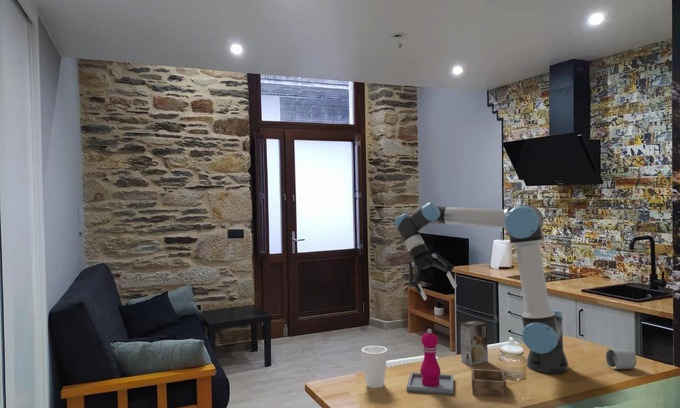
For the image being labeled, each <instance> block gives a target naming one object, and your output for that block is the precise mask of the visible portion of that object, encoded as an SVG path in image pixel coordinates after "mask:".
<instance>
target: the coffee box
mask: <svg viewBox="0 0 680 408" xmlns="http://www.w3.org/2000/svg"><path fill="white" fill-rule="evenodd" d="M459 326H460V327H459V328H460V354H461V356H460V357H461V358H460V359H461V362H462V363H464V364H467V365H469V366H471V367H472V366H475V365H479V364H484V363H488V362H489V356H488V355H489V353H488V350H489V349H488V331H487V330H488V329H487V326H488V325H487V323H486V322H482V321H480V320H471V321H466V322H461V323H459Z"/></svg>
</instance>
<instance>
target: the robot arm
mask: <svg viewBox="0 0 680 408" xmlns="http://www.w3.org/2000/svg"><path fill="white" fill-rule="evenodd" d="M394 224H395V227H396V231H398V233H399V235H400V238H401V239H402V241H403V244H404V245H405V247H406V249H407V251H408V252H409V254H410V256H411V259H412V260H413V261H408V263H407V268H408V286H409V287H413V288H414V289H415V290H416V292H417V294H420V296H421V297H422V299H423V301H426V300H427V299H428V297H427V295H426V293H425V291H424V290H423V287H422V285H421V284H420V282H419V278H420V275H421V272H422V271H421V270H425V269H427V268H429V267H435V268H437V269H438V270H441V271H443V272H445V273H446V276H447V278H448V280H449V282H450V284H451V285H452V287H453V289H456V288H457V287H458V285H457V282H456V281H455V275H454V273H453V270H454V269H455V265H453V264H452V263H450V261H449V260H447V259H445V258H444V257H443V256H441V255H440V253H439V252H438V251H435V252H434V253H432V254H431V252H430V251H429V248H428V247H427V245H426V244H425V241H424V239H423V238H422V236H421V234H420V231H421V230H422V229H424V228H426V227H427V226H429V225H434V224H438V225H439V224H441V225H457V226H474V227H476V226H477V227H487V228H488V227H489V228H502V229H504V228H505V229H506V232H507V233H508V237H509V243H510V244H511V246H513V247H515V255H516V261H517V266H518V272H519V278H520V285H521V286H520V287H521V294H522V298H523V299H522V300H523V305H524V311H523V313H522V314H521V321H522V326H523V329H522V333H521V335H522V336H521V338H522V341H523V343H524V345H525V346H526V347H527V349H529V352H528V354H527V359H526V366H527V367H528V368H529V369H530V370H533V371H536V372H538V373H543V374H544V373H545V374H550V375H553V374H557V375H558V374H564V373H566V372H567V373H568V371H570V370H569V362H568V358H567V355H566V353H565V351H564V333H563V331H564V330H563V327H564V325H563V320H564V317H563V312H562V311H560V310H559V309H552V308H550V302H549V296H548V290H547V284H546V277H545V270H544V264H543V259H542V257H543V256H542V252H541V246H540V245H541V243H542V242H543V240H544V237H543V230H542V227H543V225H544V216H543V213H542V212H541V210H539V209H538V208H537V207H535V206H533V205H518V206H515V207H514V206H513V207H512V206H509V207H507V208H506V209H505V208H504V209H503V208H483V207H482V208H481V207H480V208H479V207H478V208H477V207H459V206H458V207H457V206H440V205H436V204H435V203H434V202H430V201H429V202H428V203H426V204H424V205H423V206H421V207H420V208H419V209H417V210H416V211H415V212H413V213H412V214H409V213H402V214H401V215H399V216H397V217H396V218H395V220H394ZM435 259H436V260H435ZM437 261H438V262H437ZM414 266H416V267H417V270H416V274H415V278H414V277H413V275H414V274H413V273H414V272H413V271H414V270H413V269H414ZM413 278H414V279H413Z"/></svg>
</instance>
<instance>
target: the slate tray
mask: <svg viewBox="0 0 680 408" xmlns="http://www.w3.org/2000/svg"><path fill="white" fill-rule="evenodd" d="M422 378H423V376H422V375H421V373H420V372H410V373H409V377H408V381H407V384H406V392H409V393H410V392H411V393H412V392H413V393H425V394H437V395H449V396H450V395H451V396H452V395H453V396H454V388H455V387H454V382H455V380H454V379H455V377H454V374H445V373H444V374H442V373H440V376H439V377H438V378H439V385H438V386H436V387H428V386H424V385H423V384H422Z"/></svg>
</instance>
